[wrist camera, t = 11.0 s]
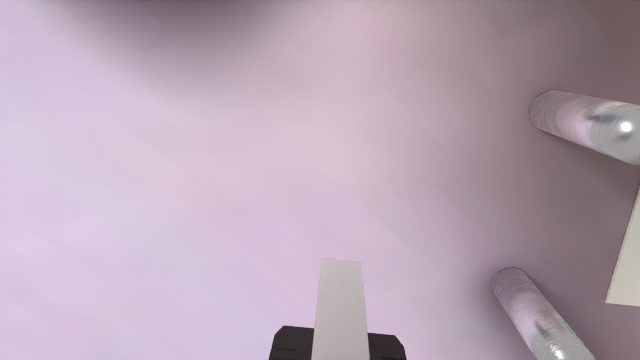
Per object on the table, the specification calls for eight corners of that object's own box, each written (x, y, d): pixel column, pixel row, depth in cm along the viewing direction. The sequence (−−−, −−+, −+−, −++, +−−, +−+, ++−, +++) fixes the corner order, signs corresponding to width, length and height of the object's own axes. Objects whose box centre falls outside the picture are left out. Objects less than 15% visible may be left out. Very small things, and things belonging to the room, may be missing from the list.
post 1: (525, 128, 28) (606, 162, 19) (534, 88, 27) (622, 104, 19) (565, 132, 28) (665, 167, 19) (575, 92, 27) (683, 109, 19)
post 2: (488, 297, 32) (543, 389, 23) (495, 266, 31) (554, 348, 22) (524, 301, 32) (592, 394, 23) (531, 269, 31) (605, 353, 22)
